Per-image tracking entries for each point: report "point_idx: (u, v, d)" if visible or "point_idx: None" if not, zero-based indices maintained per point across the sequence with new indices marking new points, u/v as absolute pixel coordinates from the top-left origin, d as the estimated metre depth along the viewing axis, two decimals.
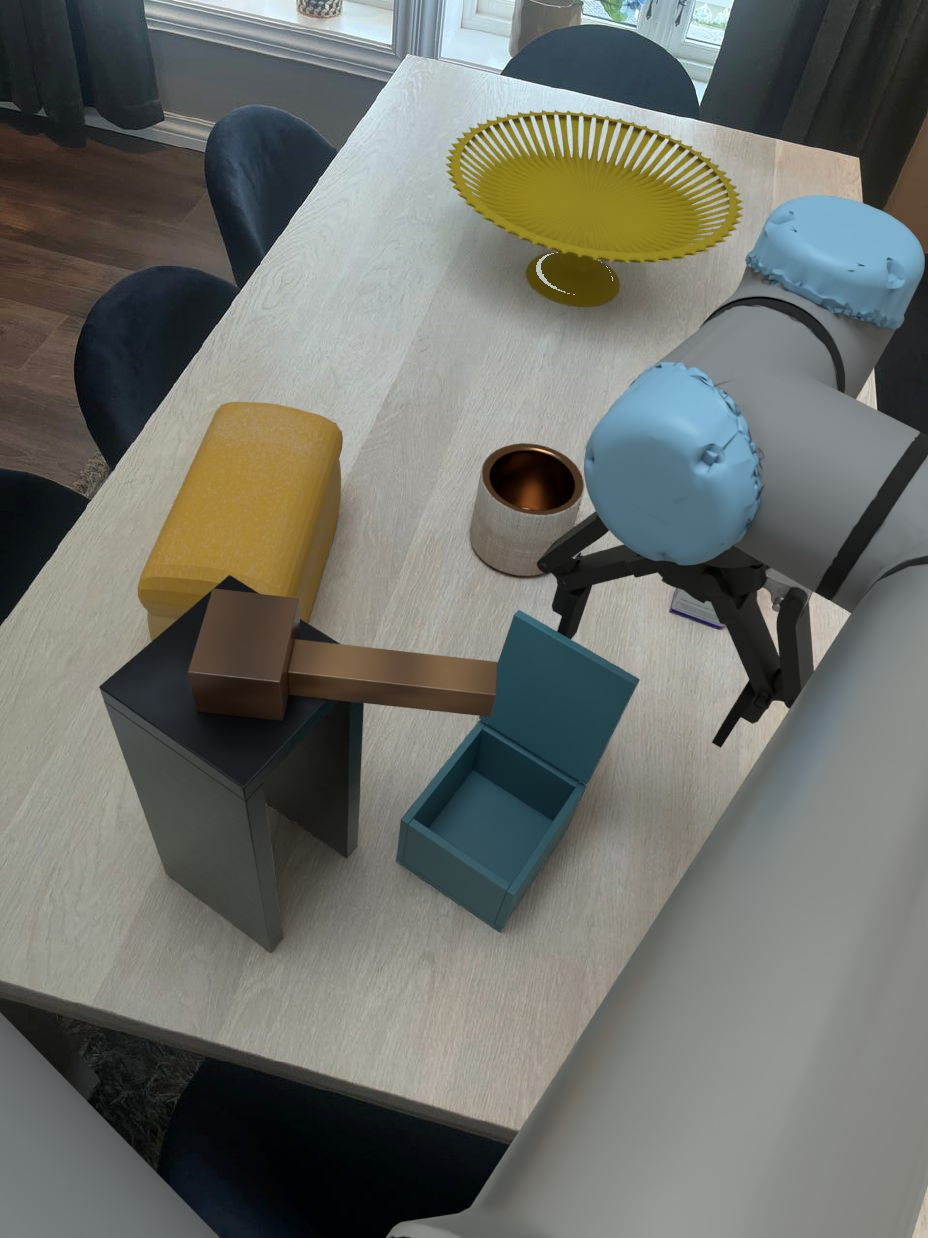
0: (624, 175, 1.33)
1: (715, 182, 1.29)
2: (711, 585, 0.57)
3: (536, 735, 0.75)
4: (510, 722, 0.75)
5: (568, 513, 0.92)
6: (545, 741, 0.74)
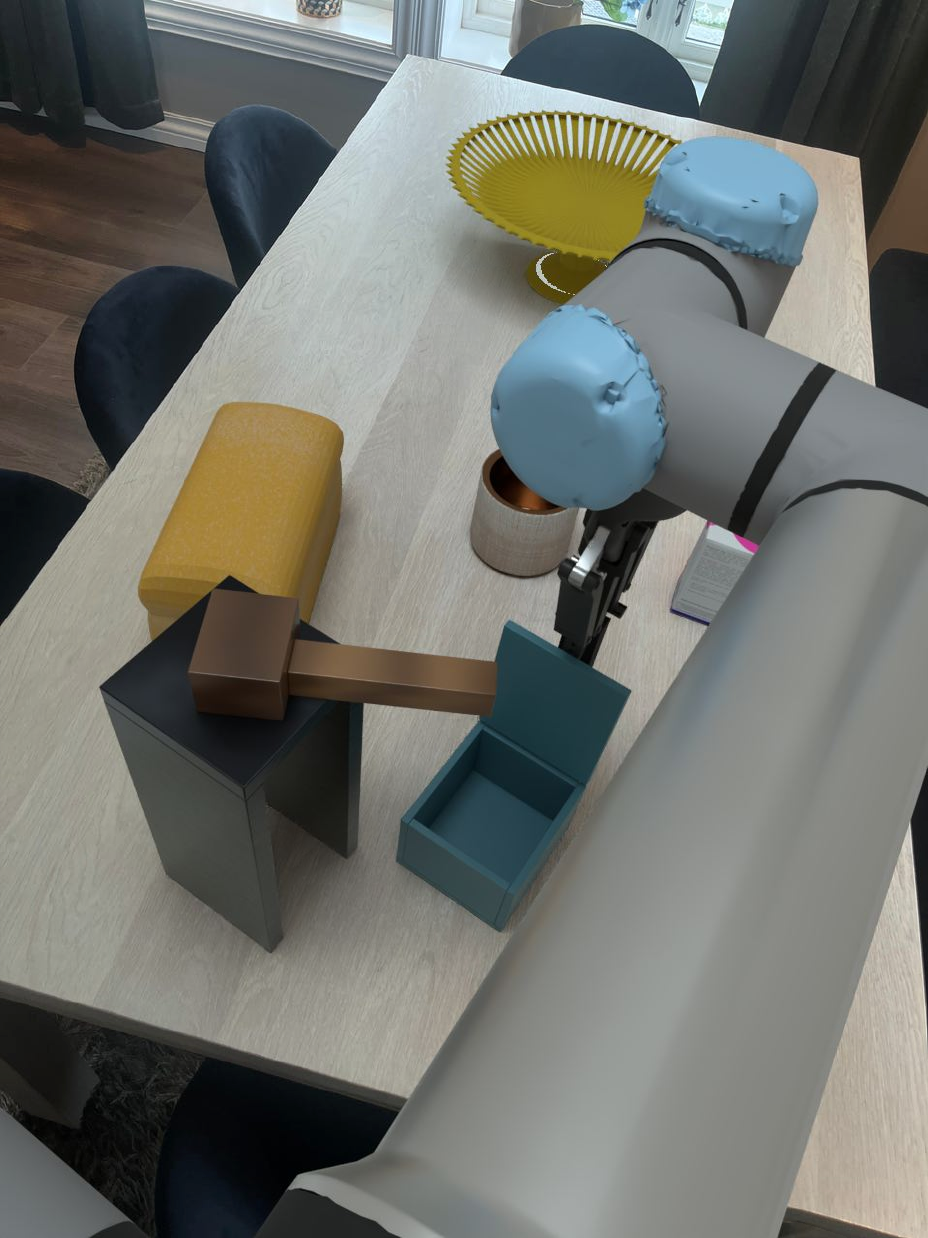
0: (624, 175, 1.33)
1: None
2: None
3: (534, 737, 0.74)
4: (509, 724, 0.75)
5: (568, 513, 0.92)
6: (543, 743, 0.74)
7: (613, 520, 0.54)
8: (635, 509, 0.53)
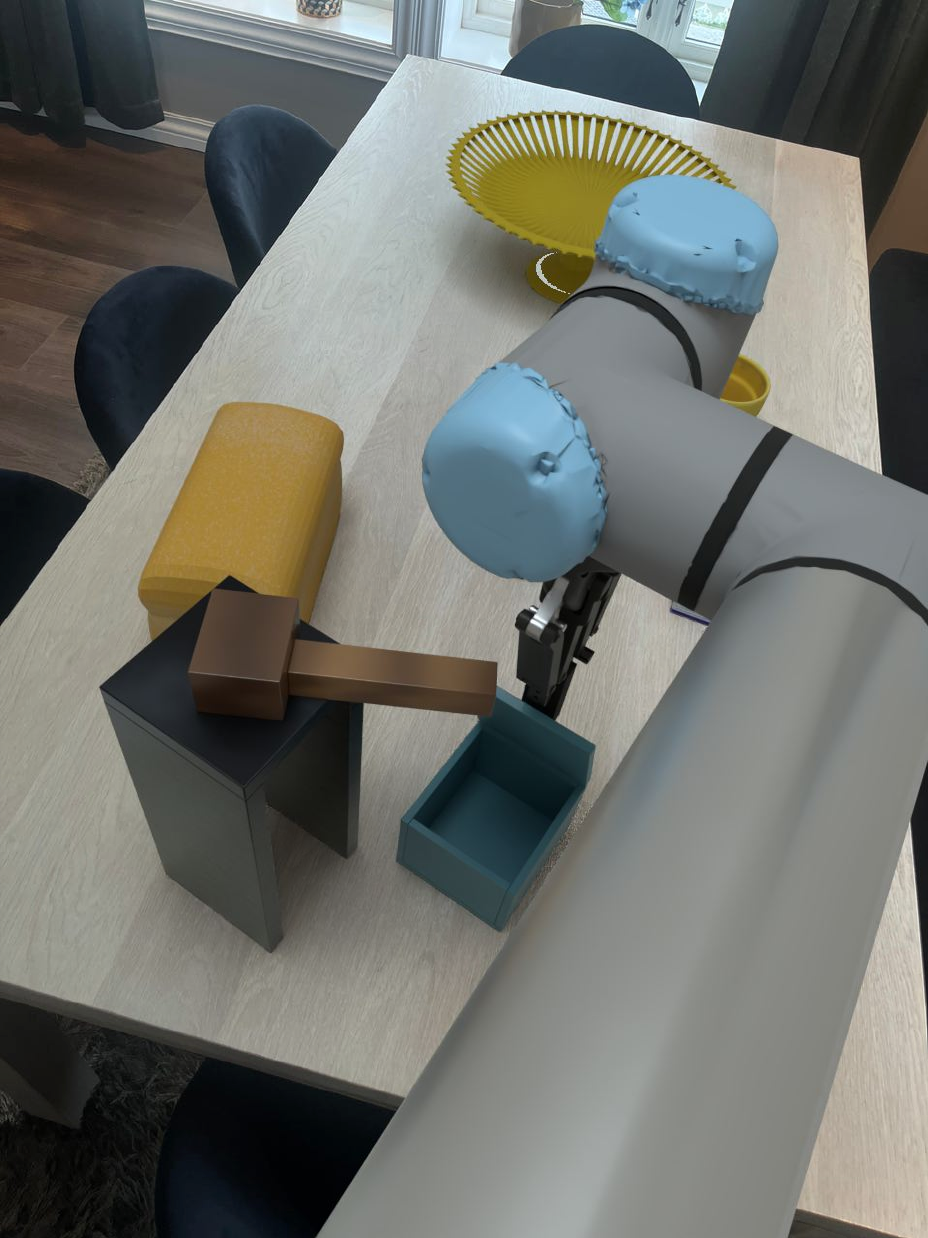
0: (624, 175, 1.33)
1: None
2: None
3: (529, 746, 0.74)
4: (504, 732, 0.75)
5: None
6: (538, 752, 0.74)
7: (571, 571, 0.51)
8: (594, 560, 0.50)
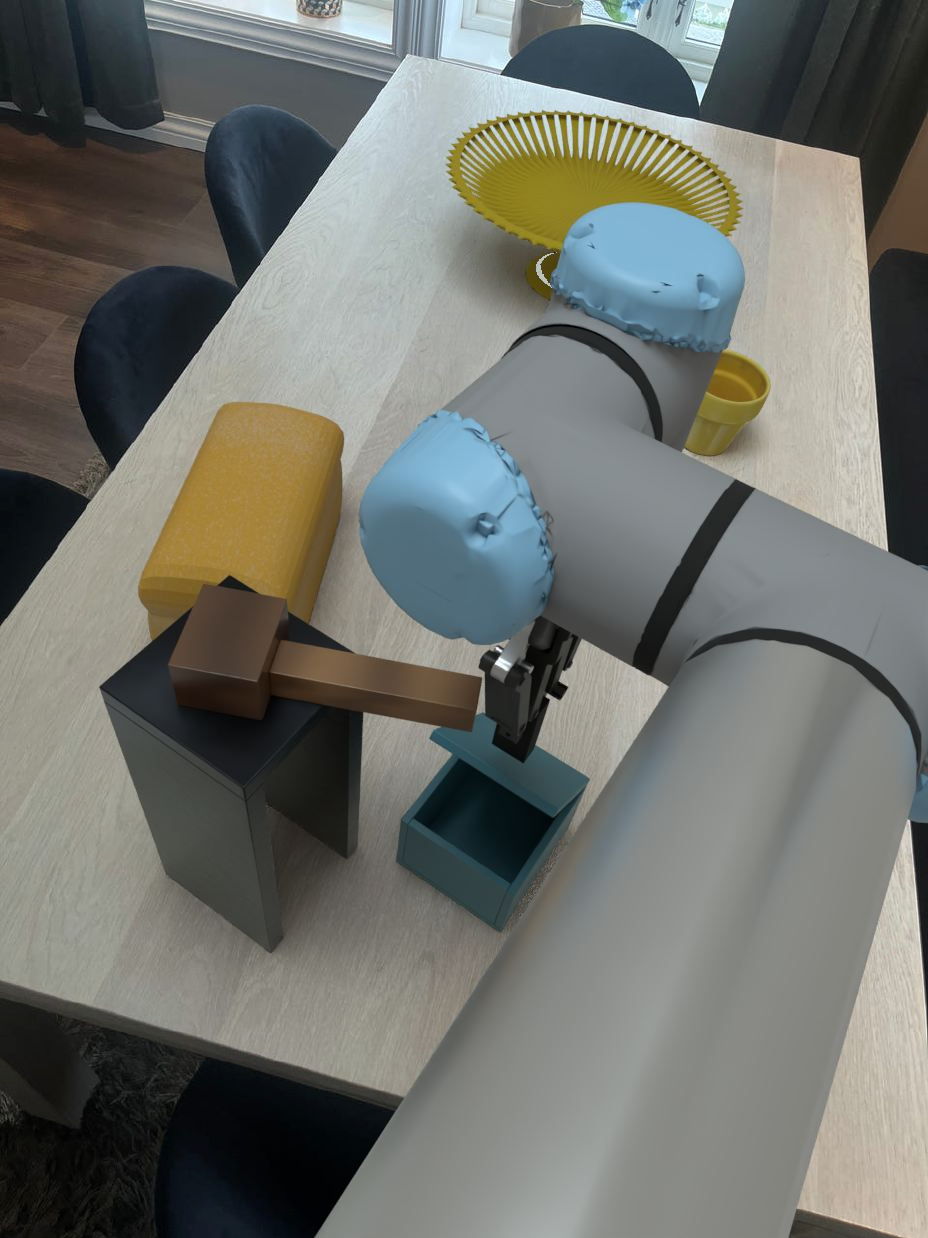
0: (624, 175, 1.33)
1: (715, 182, 1.29)
2: None
3: None
4: None
5: None
6: None
7: None
8: None
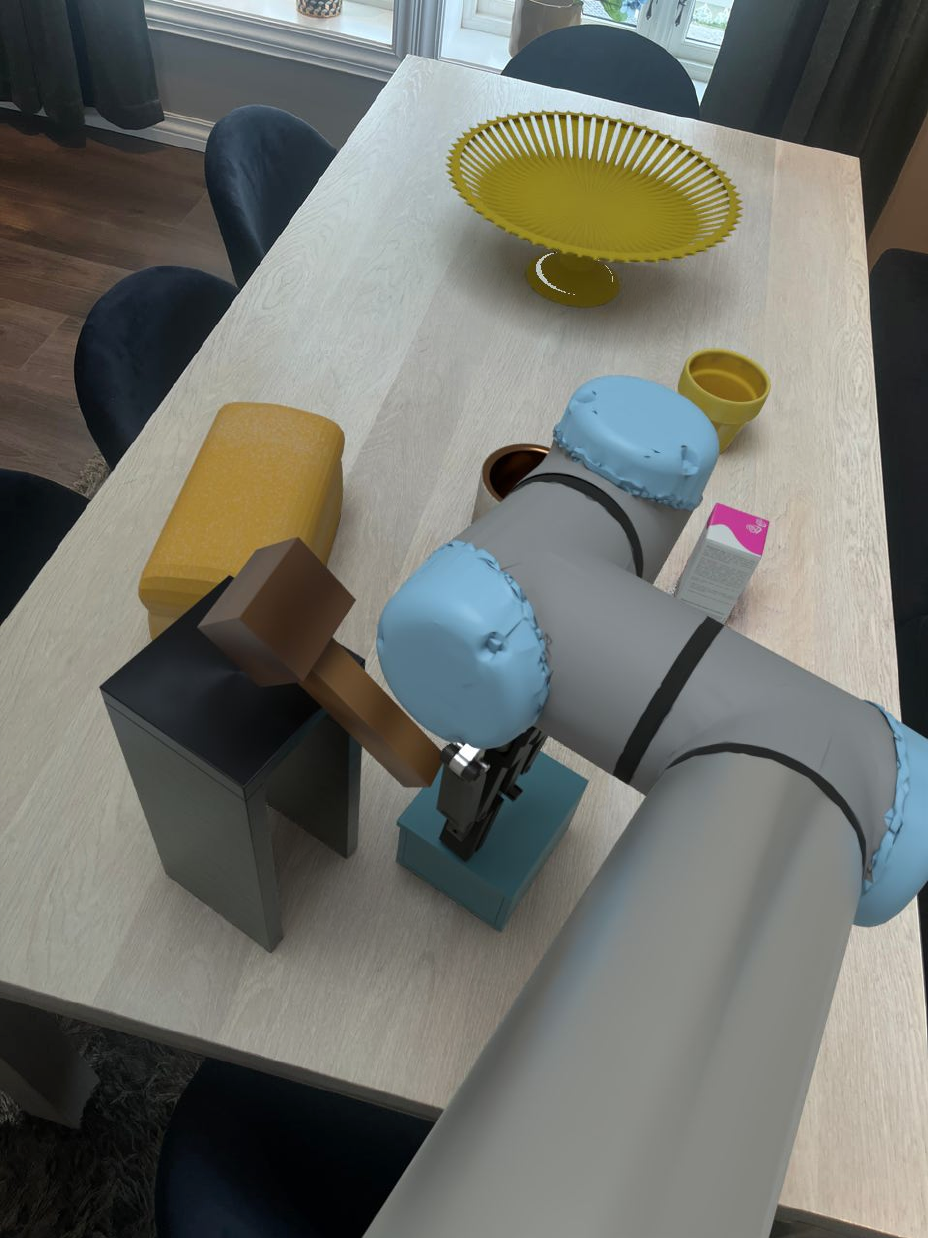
0: (624, 175, 1.33)
1: (715, 182, 1.29)
2: None
3: None
4: None
5: None
6: None
7: None
8: None
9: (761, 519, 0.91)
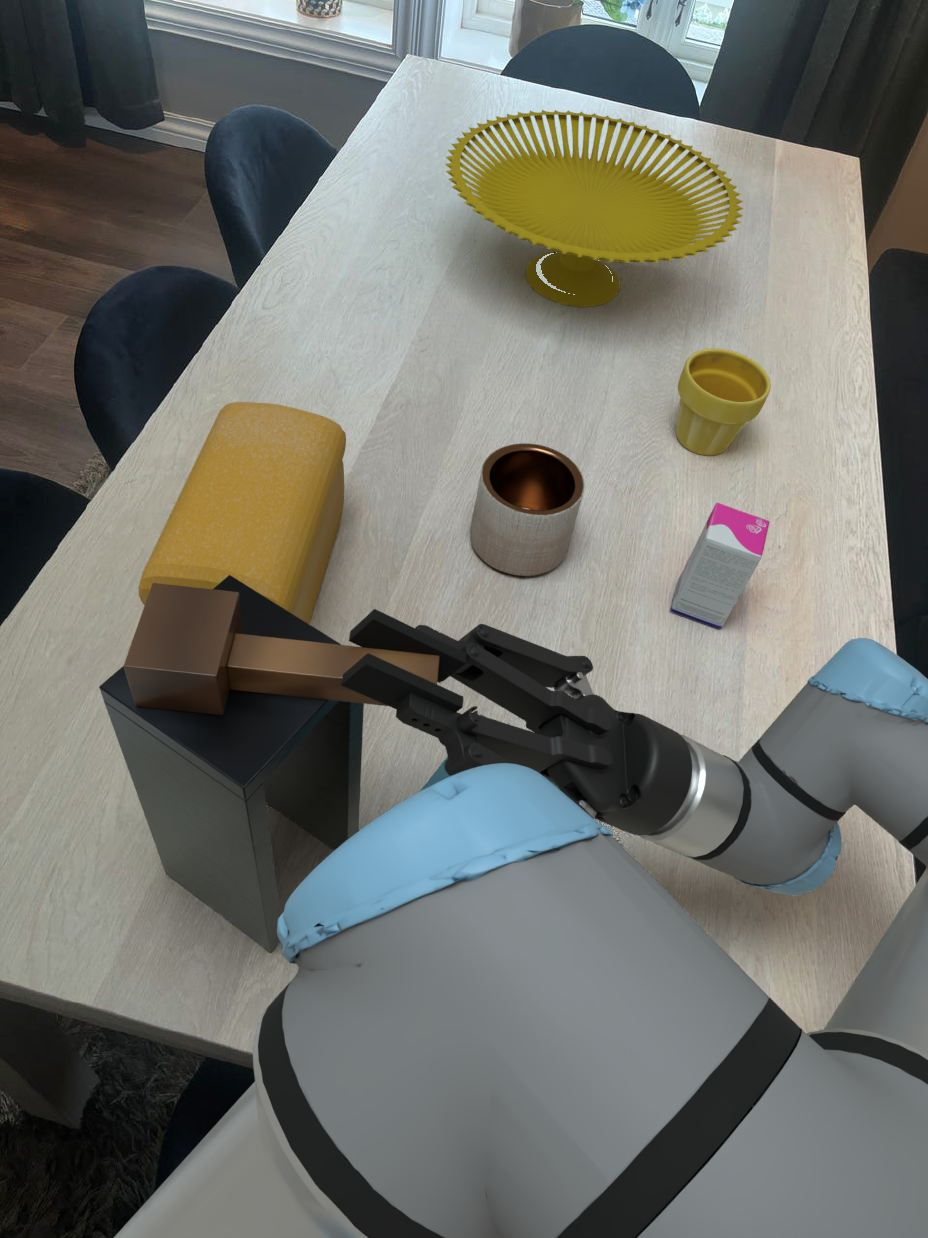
0: (624, 175, 1.33)
1: (715, 182, 1.29)
2: (603, 757, 0.58)
3: None
4: None
5: (568, 513, 0.92)
6: None
7: None
8: None
9: (761, 519, 0.91)
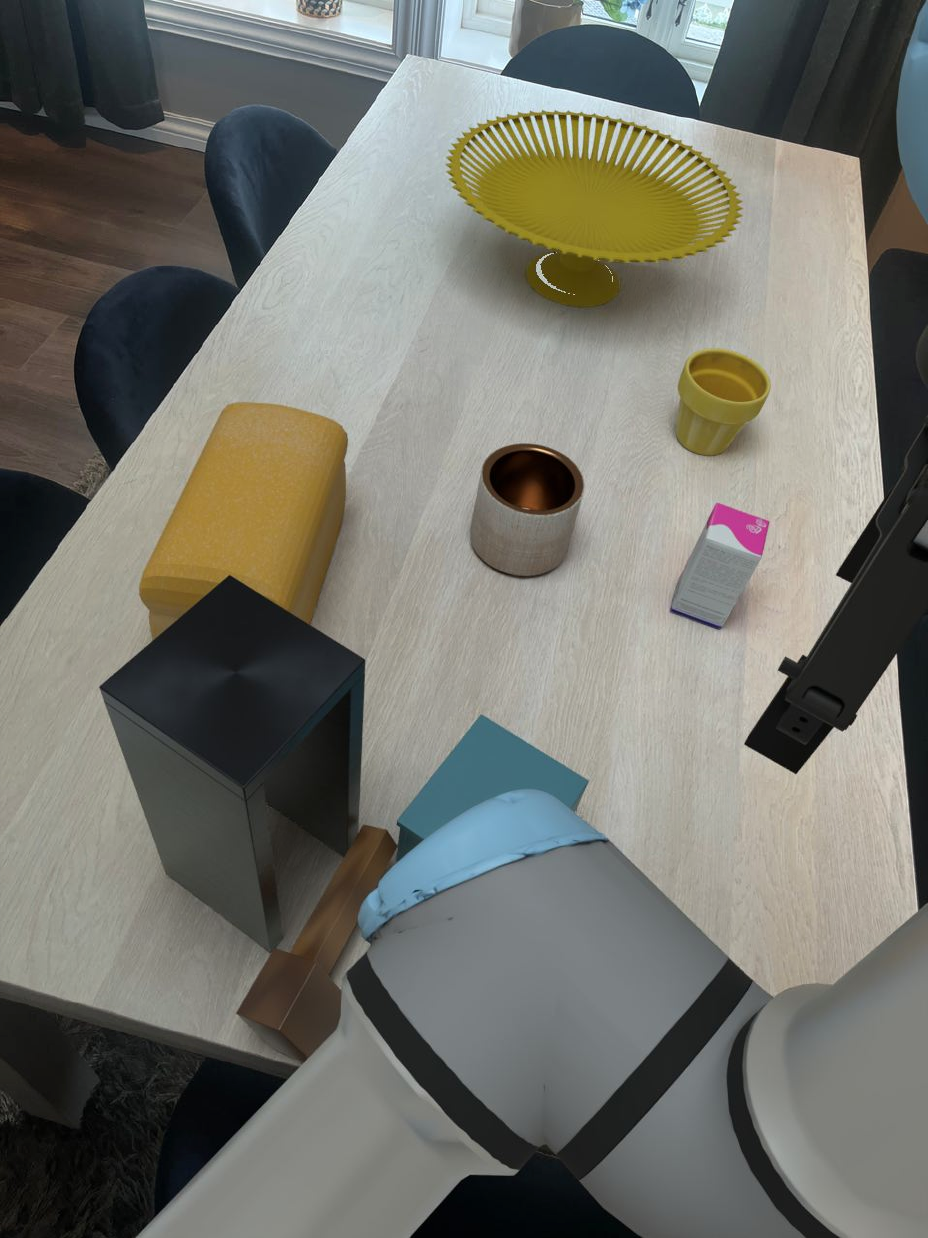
0: (624, 175, 1.33)
1: (715, 182, 1.29)
2: None
3: None
4: None
5: (568, 513, 0.92)
6: None
7: None
8: None
9: (761, 519, 0.91)
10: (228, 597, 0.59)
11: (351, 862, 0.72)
